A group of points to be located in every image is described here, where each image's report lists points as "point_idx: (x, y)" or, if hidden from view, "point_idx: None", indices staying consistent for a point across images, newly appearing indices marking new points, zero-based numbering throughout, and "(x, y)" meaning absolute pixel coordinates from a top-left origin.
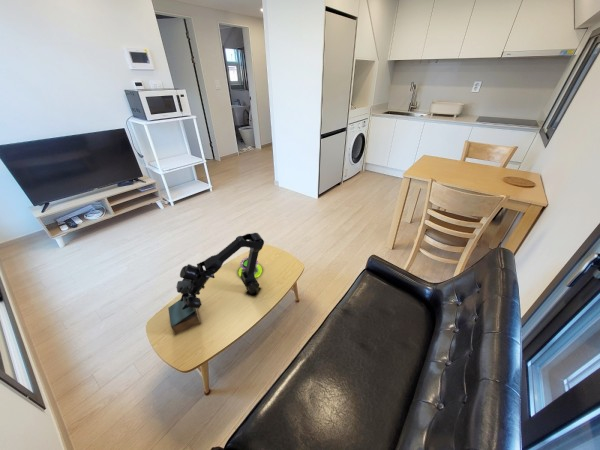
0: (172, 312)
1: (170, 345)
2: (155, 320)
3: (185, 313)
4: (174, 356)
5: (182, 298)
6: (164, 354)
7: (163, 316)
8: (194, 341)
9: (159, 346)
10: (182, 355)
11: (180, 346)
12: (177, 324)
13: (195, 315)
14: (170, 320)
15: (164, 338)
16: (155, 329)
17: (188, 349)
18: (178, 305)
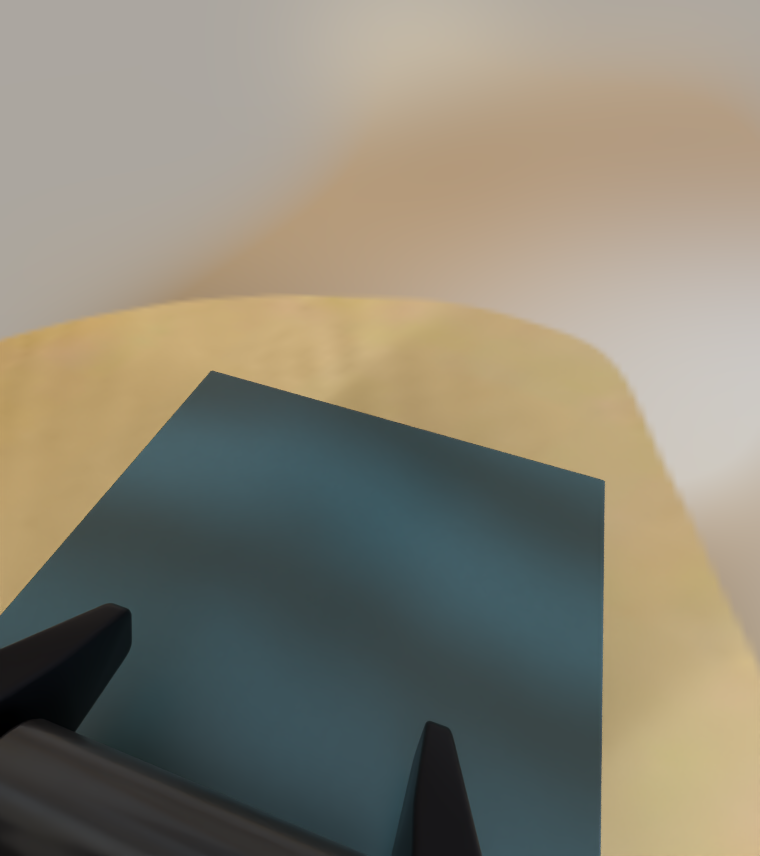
0: (424, 479)
1: (200, 371)
2: (612, 376)
3: None
4: (72, 354)
5: (405, 836)
6: (168, 307)
7: (611, 454)
8: (15, 554)
9: (277, 305)
10: (12, 404)
11: (105, 429)
12: None
13: None
14: (313, 404)
15: (319, 361)
16: (492, 339)
17: (5, 468)
18: (458, 625)
